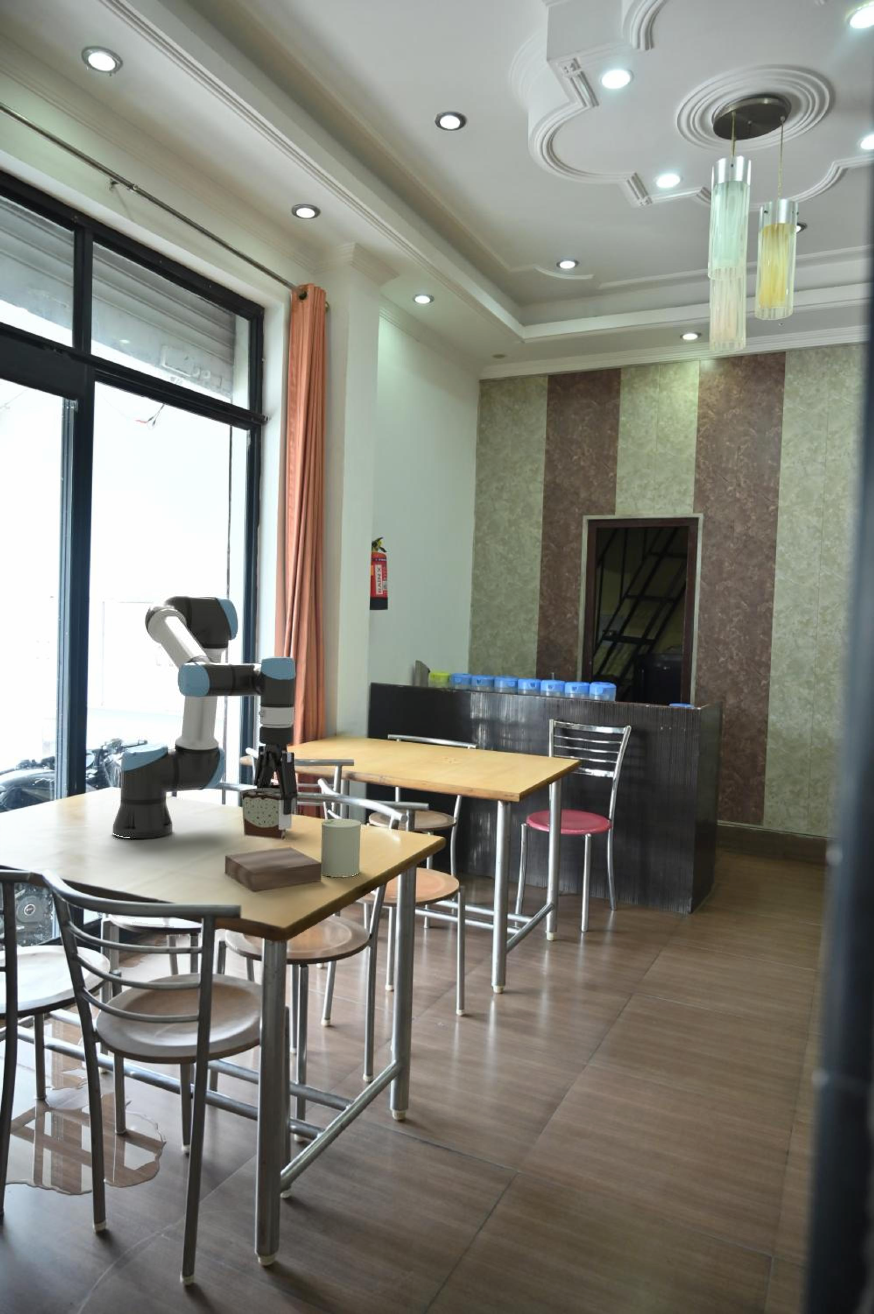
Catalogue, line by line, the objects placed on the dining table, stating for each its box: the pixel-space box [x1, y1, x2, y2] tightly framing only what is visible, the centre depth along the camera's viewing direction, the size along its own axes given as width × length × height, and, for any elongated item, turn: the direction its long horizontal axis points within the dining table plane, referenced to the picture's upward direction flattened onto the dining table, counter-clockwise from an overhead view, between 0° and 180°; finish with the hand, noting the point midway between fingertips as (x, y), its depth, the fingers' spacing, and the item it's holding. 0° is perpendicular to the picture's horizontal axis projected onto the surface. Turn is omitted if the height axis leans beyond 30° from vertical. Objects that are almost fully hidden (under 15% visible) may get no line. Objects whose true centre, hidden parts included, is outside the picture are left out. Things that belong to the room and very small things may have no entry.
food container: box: [238, 787, 287, 841], centre depth 188 cm, size 12×6×10 cm, turn 74°
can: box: [320, 818, 362, 878], centre depth 193 cm, size 9×9×12 cm
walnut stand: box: [224, 846, 322, 892], centre depth 188 cm, size 16×16×4 cm
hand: (274, 823), depth 187 cm, fingers closed on food container, 11 cm apart
